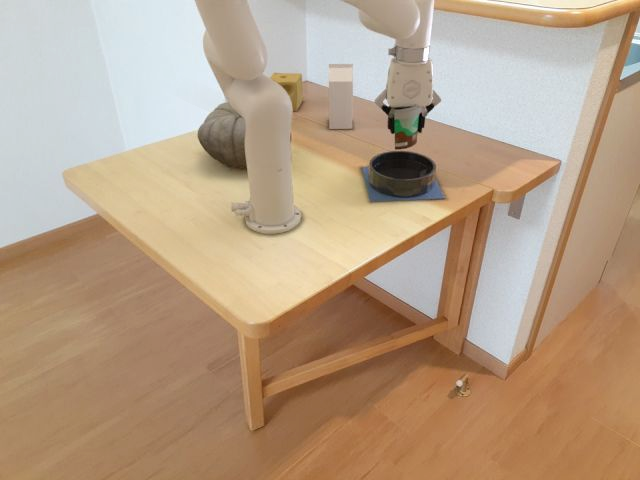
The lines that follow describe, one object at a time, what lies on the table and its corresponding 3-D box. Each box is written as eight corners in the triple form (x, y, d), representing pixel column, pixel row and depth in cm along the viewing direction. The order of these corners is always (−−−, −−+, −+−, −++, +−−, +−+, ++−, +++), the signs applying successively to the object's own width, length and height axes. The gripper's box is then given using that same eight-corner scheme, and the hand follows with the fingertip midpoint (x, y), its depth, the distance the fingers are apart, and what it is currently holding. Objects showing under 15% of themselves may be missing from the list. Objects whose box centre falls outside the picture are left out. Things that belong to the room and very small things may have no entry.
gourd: (210, 180, 127) (205, 109, 120) (191, 157, 147) (186, 95, 140) (304, 171, 136) (304, 104, 129) (274, 150, 157) (272, 91, 150)
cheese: (268, 110, 173) (265, 81, 167) (275, 99, 182) (273, 71, 176) (298, 112, 172) (297, 82, 166) (304, 100, 180) (303, 72, 175)
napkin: (370, 201, 122) (370, 200, 122) (361, 167, 137) (361, 166, 137) (444, 198, 123) (445, 197, 123) (427, 165, 138) (428, 164, 138)
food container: (421, 152, 118) (422, 110, 113) (394, 152, 119) (394, 110, 114) (422, 131, 128) (423, 91, 123) (397, 131, 129) (397, 92, 124)
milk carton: (352, 129, 159) (353, 67, 148) (329, 129, 159) (328, 67, 148) (351, 120, 165) (352, 60, 154) (329, 121, 165) (328, 60, 154)
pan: (373, 200, 123) (374, 181, 120) (364, 169, 137) (365, 151, 134) (440, 197, 124) (443, 179, 121) (425, 166, 137) (427, 149, 134)
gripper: (375, 59, 109) (371, 139, 119) (455, 56, 109) (445, 136, 120) (370, 50, 115) (367, 126, 125) (446, 47, 115) (437, 123, 126)
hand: (405, 130), depth 122 cm, fingers closed on food container, 5 cm apart
